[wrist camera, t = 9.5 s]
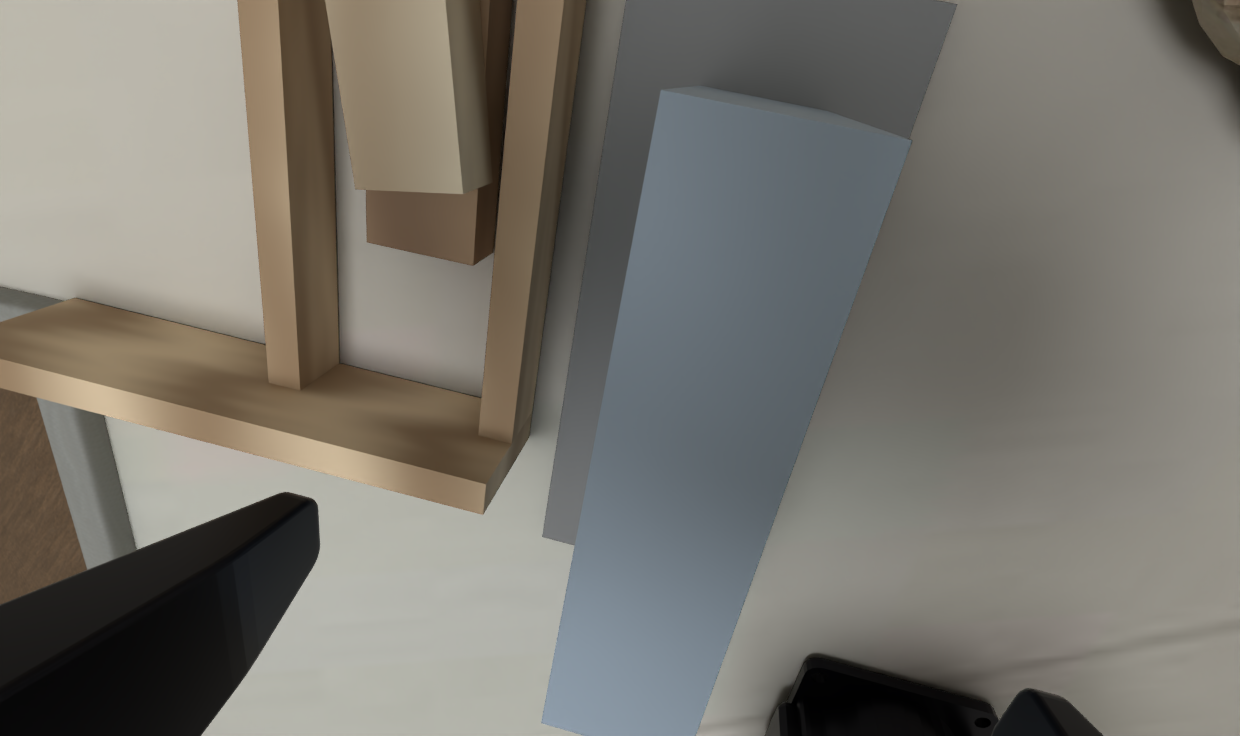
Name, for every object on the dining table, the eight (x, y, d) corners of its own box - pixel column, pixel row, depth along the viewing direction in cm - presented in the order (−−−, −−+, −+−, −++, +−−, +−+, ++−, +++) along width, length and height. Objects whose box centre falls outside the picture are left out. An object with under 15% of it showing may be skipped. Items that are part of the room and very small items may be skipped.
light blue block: (827, 111, 14) (912, 140, 7) (705, 515, 20) (684, 764, 13) (699, 85, 15) (660, 89, 8) (613, 492, 20) (541, 723, 13)
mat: (951, 6, 14) (957, 3, 13) (746, 582, 21) (746, 590, 21) (637, -51, 14) (634, -55, 14) (545, 529, 22) (542, 536, 21)
